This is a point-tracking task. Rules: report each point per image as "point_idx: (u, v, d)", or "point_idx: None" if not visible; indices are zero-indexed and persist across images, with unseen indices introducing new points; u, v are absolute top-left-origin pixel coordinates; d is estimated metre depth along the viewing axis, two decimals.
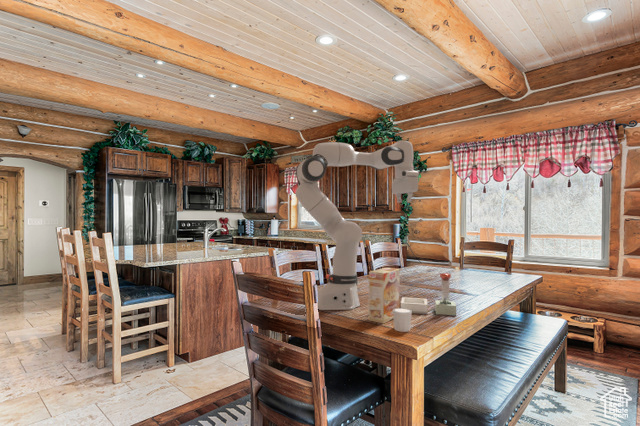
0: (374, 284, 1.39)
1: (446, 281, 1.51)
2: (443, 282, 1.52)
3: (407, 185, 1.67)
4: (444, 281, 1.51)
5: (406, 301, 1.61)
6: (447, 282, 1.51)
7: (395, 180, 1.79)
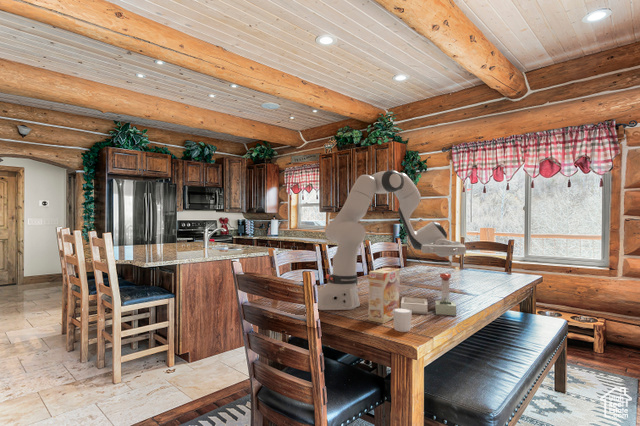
0: (374, 284, 1.39)
1: (446, 281, 1.51)
2: (443, 282, 1.52)
3: (457, 245, 1.70)
4: (444, 281, 1.51)
5: (406, 301, 1.61)
6: (447, 282, 1.51)
7: None
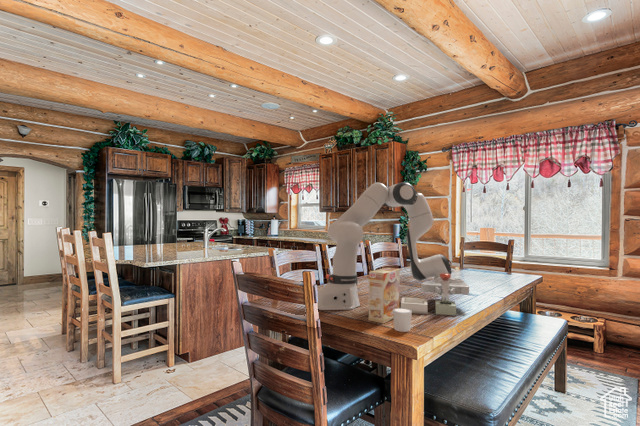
0: (374, 284, 1.39)
1: (446, 281, 1.51)
2: (443, 282, 1.52)
3: (459, 285, 1.58)
4: (444, 281, 1.51)
5: (406, 301, 1.61)
6: (447, 282, 1.51)
7: (430, 282, 1.64)
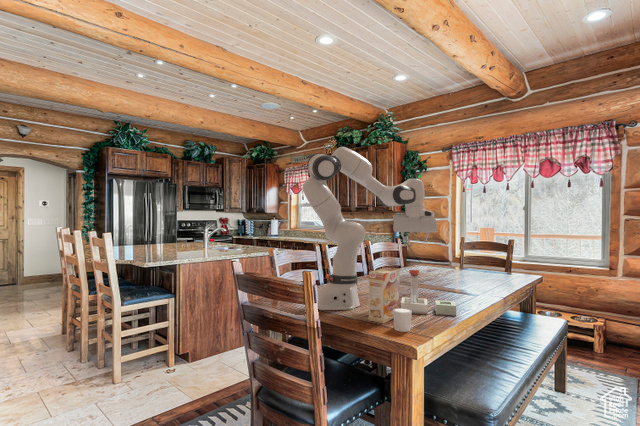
0: (374, 284, 1.39)
1: (414, 277, 1.55)
2: (412, 278, 1.56)
3: (429, 225, 1.65)
4: (413, 277, 1.55)
5: (406, 301, 1.61)
6: (416, 278, 1.55)
7: (402, 218, 1.69)
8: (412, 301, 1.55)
